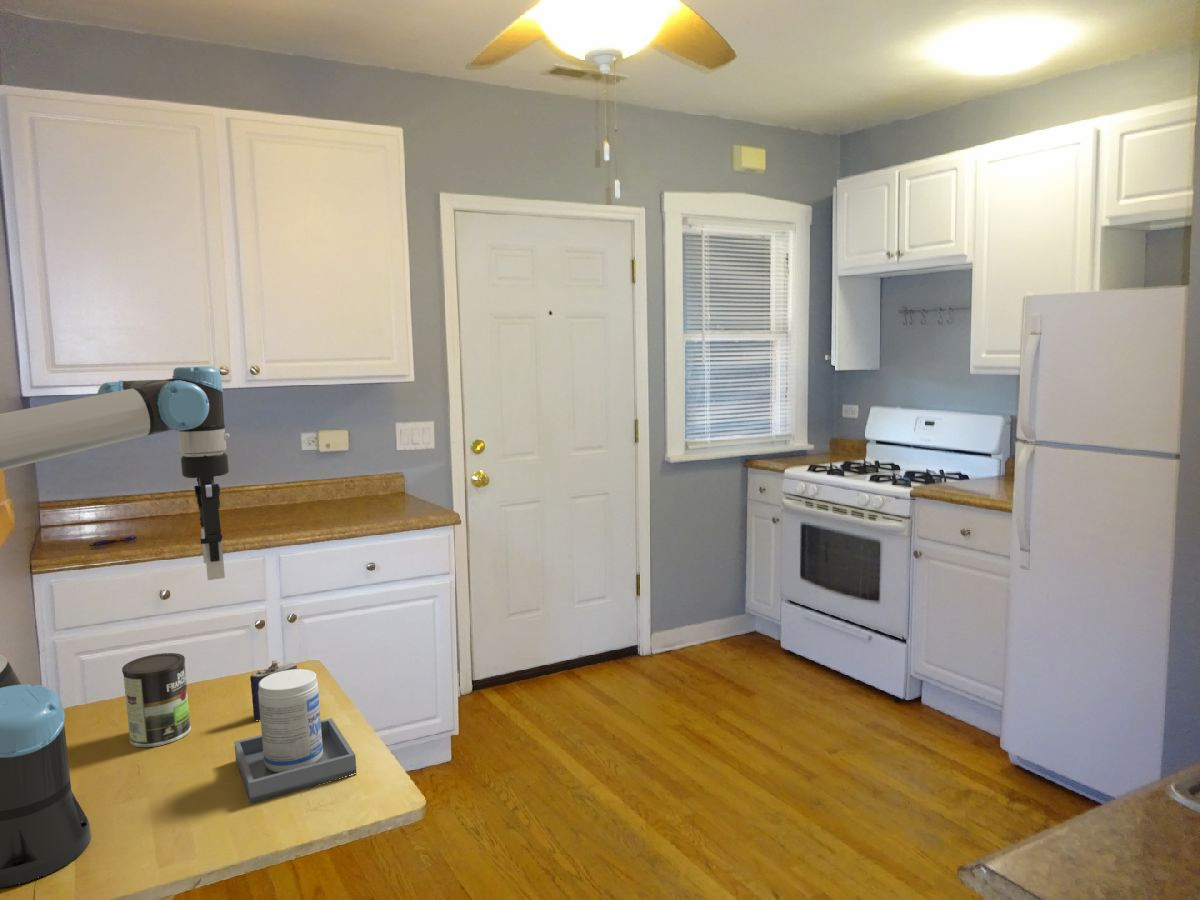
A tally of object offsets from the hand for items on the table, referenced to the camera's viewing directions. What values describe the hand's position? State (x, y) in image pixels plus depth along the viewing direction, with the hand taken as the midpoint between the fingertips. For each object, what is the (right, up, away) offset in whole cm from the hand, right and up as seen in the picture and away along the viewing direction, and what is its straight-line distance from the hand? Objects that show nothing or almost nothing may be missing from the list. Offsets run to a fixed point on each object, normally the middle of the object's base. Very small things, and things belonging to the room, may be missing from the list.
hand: (213, 570), depth 151 cm
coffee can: (-12, -32, +5) cm, 35 cm away
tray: (+18, -33, -8) cm, 38 cm away
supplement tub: (+18, -32, -8) cm, 37 cm away
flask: (+6, -30, +14) cm, 34 cm away
